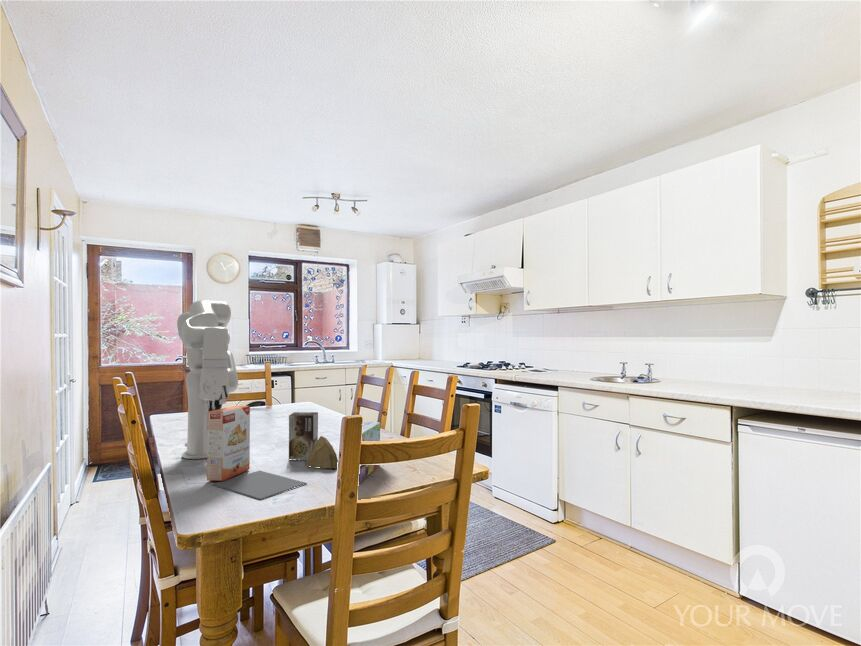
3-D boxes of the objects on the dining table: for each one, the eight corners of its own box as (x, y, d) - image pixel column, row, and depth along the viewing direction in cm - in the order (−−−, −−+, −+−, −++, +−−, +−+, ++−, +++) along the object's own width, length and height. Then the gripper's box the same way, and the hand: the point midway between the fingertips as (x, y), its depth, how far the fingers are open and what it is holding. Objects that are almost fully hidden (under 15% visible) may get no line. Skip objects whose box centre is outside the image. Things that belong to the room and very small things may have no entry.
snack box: (359, 485, 135) (360, 434, 135) (342, 484, 136) (342, 433, 136) (380, 465, 156) (381, 421, 156) (364, 464, 157) (365, 420, 157)
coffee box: (318, 456, 167) (318, 411, 168) (313, 461, 161) (314, 415, 161) (293, 455, 167) (294, 411, 168) (287, 460, 161) (288, 414, 161)
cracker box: (223, 482, 136) (223, 411, 137) (205, 481, 137) (205, 411, 138) (251, 469, 149) (250, 405, 150) (234, 468, 150) (234, 405, 152)
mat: (212, 485, 134) (212, 483, 134) (259, 471, 147) (259, 470, 148) (260, 500, 122) (260, 498, 122) (306, 484, 135) (306, 482, 136)
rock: (347, 460, 153) (334, 450, 161) (335, 443, 149) (322, 433, 157) (322, 484, 148) (310, 472, 156) (308, 466, 145) (296, 455, 152)
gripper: (191, 364, 150) (190, 420, 149) (217, 365, 142) (216, 425, 141) (212, 363, 156) (212, 417, 155) (239, 364, 148) (238, 421, 147)
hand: (214, 421), depth 148 cm, fingers closed
